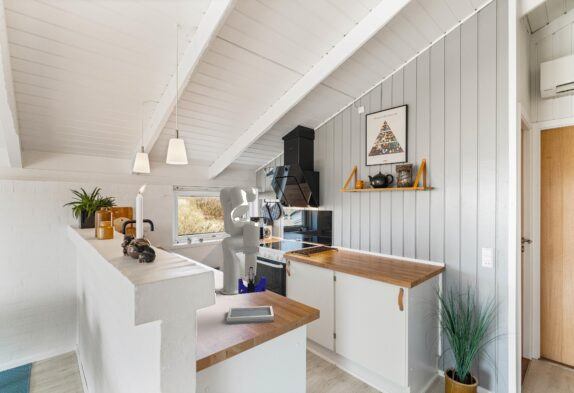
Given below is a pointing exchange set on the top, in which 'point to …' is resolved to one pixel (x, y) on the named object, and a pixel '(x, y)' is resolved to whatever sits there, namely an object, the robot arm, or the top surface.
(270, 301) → the top surface
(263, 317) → the shallow rectangular tray
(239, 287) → the blue long irregular block
